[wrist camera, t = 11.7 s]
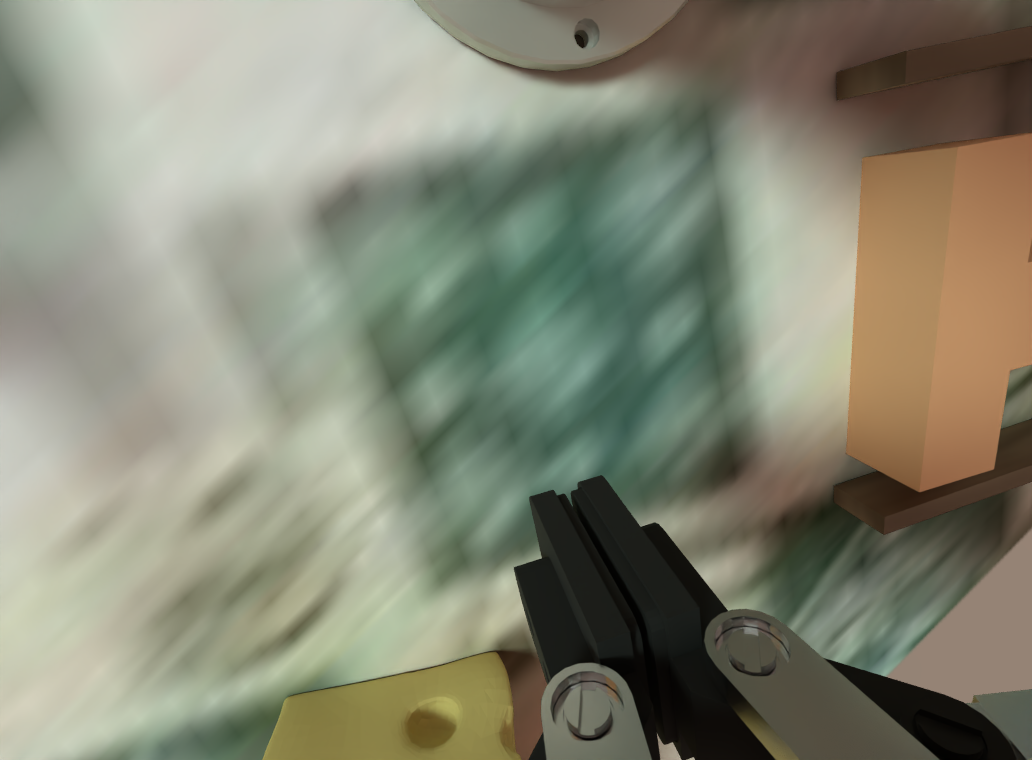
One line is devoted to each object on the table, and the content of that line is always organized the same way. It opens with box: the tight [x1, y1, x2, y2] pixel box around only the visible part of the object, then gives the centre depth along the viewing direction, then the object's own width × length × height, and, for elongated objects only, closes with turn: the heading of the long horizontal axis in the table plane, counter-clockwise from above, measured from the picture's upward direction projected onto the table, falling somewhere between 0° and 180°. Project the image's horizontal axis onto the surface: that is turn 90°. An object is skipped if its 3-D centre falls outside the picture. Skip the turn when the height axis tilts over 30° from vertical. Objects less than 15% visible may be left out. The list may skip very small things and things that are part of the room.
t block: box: [846, 132, 1032, 492], centre depth 24 cm, size 14×13×4 cm
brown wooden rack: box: [834, 26, 1032, 535], centre depth 24 cm, size 20×16×3 cm
